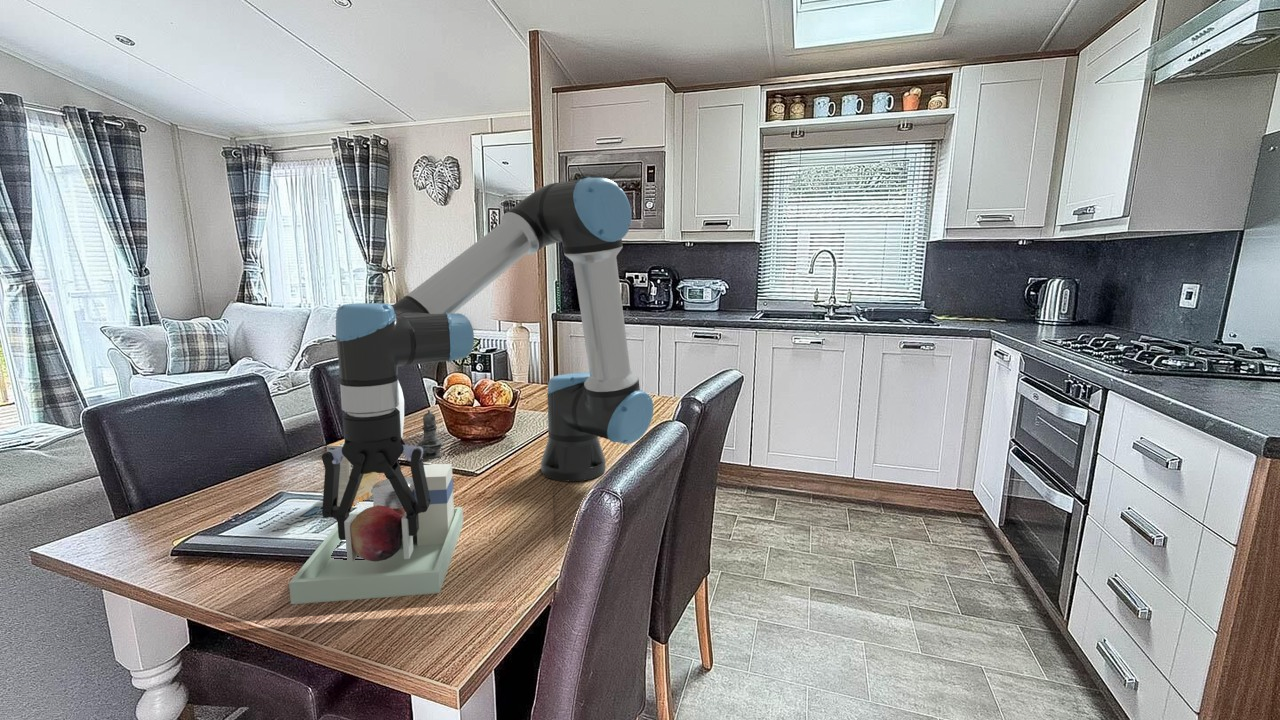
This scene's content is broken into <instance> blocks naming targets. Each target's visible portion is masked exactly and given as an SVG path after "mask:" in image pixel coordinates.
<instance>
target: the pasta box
mask: <svg viewBox="0 0 1280 720" xmlns="http://www.w3.org/2000/svg"><path fill="white" fill-rule="evenodd" d="M423 465H424V471H425V476H426V481H427V486H428V491H429V496H430V501H431V503H430V505H429V507H428V509H427V511H426V512H421V513H419V514H418V518H419V530H418V532H417V546H425V545H441V544H444V543H445V540H446V537H447V535H448V532H449V529H450V527H451V524H452V522H453V519H454V507H455V506H454V505H455V503H454V502H455V501H454V476H453V463H443V464H442V463H440V464H439V463H437V464H423ZM414 489H415V487H414ZM414 497H415V500H416V501H417V497H416V492H415V491H414ZM417 503H418V502H417Z"/></svg>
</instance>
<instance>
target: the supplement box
mask: <svg viewBox="0 0 1280 720" xmlns="http://www.w3.org/2000/svg"><path fill="white" fill-rule="evenodd" d="M344 442H345V439H344V438H343V439H341V440H340V439H339V440H337V441H336V442H333V443H329V444H327V445H326V451H327V450H328V449H330V448H335V449H338V448H342V447H343V445H344ZM352 468H353V465H352V464H351V463H350V462H349V461H348V460H347V459H346V457H345V456H344V455H343V457H342V461H341V462H340V475H339V489H338V503H337V506H340V504H341V501H342V498H343V495H344V492H345V490H346V487H347V484H348V481H349V476H350V474H351V471H352ZM377 482H378V473H376V472H372V473H368V474H364V475H363V477H362V480H361V483H360V486H359V488H358V491H357V494H356V497H355V499H354V502H353V505H352V506H354V505H356V504H357V503H359V502H361V501H362V502H364V501H366V500H368V499H369V498H371V497H373V496H372V495H373V485H374V484H376V483H377ZM370 496H371V497H370ZM367 498H368V499H367ZM365 499H366V500H365ZM363 500H364V501H363ZM362 502H361V503H362ZM359 504H360V503H359ZM357 505H358V504H357ZM357 505H356V506H357ZM354 507H355V506H354Z"/></svg>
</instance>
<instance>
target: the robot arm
mask: <svg viewBox="0 0 1280 720" xmlns="http://www.w3.org/2000/svg"><path fill="white" fill-rule="evenodd" d="M631 224H632V208H631V204H630V201H629V199H628V197H627V194H626V193H625V191H624V189H622V188H621V187H619V185H618V184H617V182H614V181H613V180H611V179H609V178H606V177H589V176H588V177H585V178H580V179H574V180H568V181H561V182H554V183H549V184H547V185H544V186H542V187H540V188H539V189H536V190H535V191H534V192H532V193H531V194H529V195H528V196H527V197H525V198H524V199H522V200H521V201H520V202H518V203H517V204H516V205H514V206H513V207H512V208H510V209H509V210H508V211H506V212H505V213H504V214H503V215H502V216H501V219H500V223H499V224H498V225H497V226H495V227H494V228H493V229H492V230H491V231H489V232H488V233H487V234H485V235H484V236H483V237H481V238H480V239H478V240H477V241H476V242H474V244H472V245H470V246H469V247H468V248H467V249H466V250H464V251H463V252H462V253H460V254H459V255H458V256H456V257H455V258H454V259H453V260H451V261H449V262H448V263H447V264H445V265H444V266H443V267H442V268H440V269H439V270H438V271H437V272H435V273H434V274H432V275H431V276H430V277H429V278H428V279H426V280H425V281H423V282H422V283H421V284H419V285H418V286H417V287H415V288H414V289H413V290H412V291H410V292H409V293H407V295H405V296H403V297H402V298H400V299H398V301H396V302H395V303H393V305H392V304H389V303H383V302H382V303H381V302H380V303H379V302H378V303H377V302H376V303H375V302H373V303H372V302H371V303H370V302H369V303H367V302H366V303H364V302H363V303H358V302H357V303H347V304H343V305H341V306H339V307H338V309H337V310H336V313H335V338H334V339H335V341H336V349H337V359H338V368H339V370H338V371H339V381H340V384H339V385H340V402H341V410H342V412H343V411H344V412H345V413H344V414H343V415H342V425H343V426H342V428H343V439H345V442H344V445H343V447H342V448H338V449H335V448H330V449H328V450H327V449H326V451H325V452H324V453H322V455H321V461H322V463H323V466H324V481H323V482H324V483H323V493H322V494H323V495H322V509H321V510H322V511H321V515H322V517H324V518H325V519H327V518H332V519H335V520H336V523H337V524H338V535H339V539H340V540H346V552H347V563H353V561H354V560H355V558H356V557H357V555H356V553H355V552H354V549H353V543H352V537H351V525H352V522H353V520H354V519H355V518H356V514H350V515H349V513H351V511H352V510H353V507H352V505H353V502H354V499H355V497H356V494H357V491H358V488H359V486H360V483H361V480H362V477H363V475H364V474H368V473H372V472H376V473H377V474H384V477H385V478H386V479H389V481H390V483H391V485H392V487H393V489H394V491H395V493H396V495H397V497H398V499H399V501H400V503H401V504H402V506H403V508H404V510H405V514H404V515H403V517H402V535H403V552H404V559H409V558H410V556H411V554H412V552H413V536H415V535H416V534H417V532H418V530H419V518H418V514H419V513H421V512H426V511H427V509H428V507H429V505H430V503H431V501H430V496H429V491H428V486H427V481H426V476H425V471H424V465H425V464H424V462H423V461H424V459H422V458H423V453H424V446H423V445H418V444H417V445H416V446H414V445H407V444H406V443H405V442H404V440H403V436H402V437H401V424H400V411H399V410H398V409H397V408H396V407H397V406H398V405H399V390H398V381H399V374H398V371H399V369H398V367H407V366H414V365H423V364H431V363H441V362H448V363H451V362H452V361H456V360H461V359H465V358H467V357H468V356H469V355H471V353H472V351H473V348H474V344H475V339H474V338H475V336H474V335H475V333H474V328H473V325H472V323H471V321H470V320H469V318H468V317H467V316H466V315H465V314H462V313H457V312H458V311H459V310H460V309H461V308H462V307H463V306H465V305H466V304H467V303H468V302H470V301H471V300H472V299H473V298H474V297H476V296H477V295H478V294H480V293H481V292H482V291H483V290H484V289H485V288H487V287H488V286H490V284H491V283H493V282H494V281H495V280H496V279H498V278H499V277H500V276H501V275H502V274H503V273H505V272H506V271H507V270H509V269H510V268H511V267H512V266H514V265H515V264H516V263H517V262H518V261H520V260H521V259H522V258H524V256H526V255H529V256H534V255H535V254H536V253H537V252H538V251H540V250H542V249H543V248H545V247H547V246H549V245H550V246H551V245H552V244H557V243H562V249H563V250H562V251H563V254H564V256H565V257H566V258H568V259H569V260H570V261H571V262H572V263H573V269H574V270H573V271H574V277H575V284H576V289H577V291H576V292H577V298H578V304H579V309H580V316H581V317H580V318H581V322H582V324H581V325H582V329H583V330H582V331H583V332H582V333H583V337H584V338H583V339H584V344H585V349H586V358H587V364H588V370H589V372H574V373H566V374H564V373H563V374H558V375H554V376H552V377H551V378H550V379H549V381H548V383H547V384H548V385H547V393H546V396H547V428H548V430H547V431H548V434H547V436H548V438H547V443H546V444H545V445H546V446H545V449H544V451H543V454H542V457H541V461H540V462H541V463H540V472H541V474H542V475H543V476H544V477H546V478H548V479H551V480H554V481H560V482H579V481H580V482H581V481H588V480H593V479H594V478H598V477H600V476H601V475H603V474H604V473H605V472H606V458H605V454H604V451H603V449H602V446H601V443H600V440H599V439H600V438H603V439H605V440H609V441H610V442H612V443H620V444H625V445H630V444H633V443H635V442H637V441H639V439H640V438H642V437H643V436H644V434H646V432H647V431H648V429H649V426H650V425H651V423H652V419H653V416H654V402H653V398H652V397H651V396H650V394H648V392H646V391H645V390H644V391H643V390H641V386H640V380H639V379H640V378H639V375H638V374H637V373H636V372H634V371H633V370H631V365H630V364H631V363H630V356H629V350H628V349H629V348H628V343H627V332H626V325H625V317H624V310H623V302H622V294H621V293H622V292H621V291H622V290H621V284H620V277H619V276H620V275H619V268H618V260H617V256H618V254H619V253H620V252H621V250H622V249H623V238H624V237H625V236H626V235H627V234H628V233H629V230H630V228H629V227H630V226H631ZM402 454H404V455H405V456H406V460H407V461H408V462H409V463H410V465H409V466H410V467H409V468H410V472H411V476H412V478H413V482H414V487H415V492H416V497H417V501H416V500H415V498H414V496H413V494H412V492H411V490H410V488H409V486H408V484H407V482H406V480H405V478H404V477H405V475H404V474H403V472H402V467H401V465H400V463H399V458H400V457H401V456H402ZM343 455H344V456H345V457H346V459H347V460H348V461H349V462H350V463H351V464H352V465H353V468H352V471H351V474H350V476H349V481H348V484H347V487H346V490H345V492H344V495H343V498H342V501H341V504H340V506H337V503H338V489H339V475H340V462H341V461H342V457H343ZM417 502H418V503H417Z"/></svg>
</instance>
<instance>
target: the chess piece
mask: <svg viewBox="0 0 1280 720" xmlns="http://www.w3.org/2000/svg"><path fill="white" fill-rule="evenodd" d="M422 418H423V419H422V420H423V427H422V428H421V429H422V432H423V438H422V440H420V441H419V442H417V446H418V445H423V446H424V453H423V459H422V460H424V459H431V460H435V459H434V458H437V459H439V458H438V457H440V456H441V457H442V456H443V453H441V452H440V450H441V448H442V446H443V442H444V440H442V439H440V438H438V436H437V429H438V426H437V425H436V424H437V423H436V415H435V414H434V413H432V412H431V410H430V409H428V410H427V413H424V415H423V417H422ZM441 457H440V458H441Z"/></svg>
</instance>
